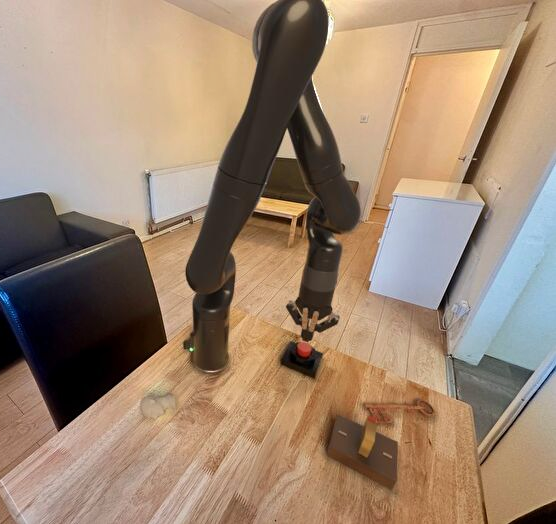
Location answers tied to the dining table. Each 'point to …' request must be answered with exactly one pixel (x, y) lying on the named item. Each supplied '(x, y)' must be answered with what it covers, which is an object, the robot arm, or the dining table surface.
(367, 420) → the lock knob
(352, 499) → the dining table surface
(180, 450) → the dining table surface
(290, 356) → the alarm box
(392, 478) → the lock plate
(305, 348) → the alarm button
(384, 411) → the key
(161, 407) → the pale grey lumpy piece
